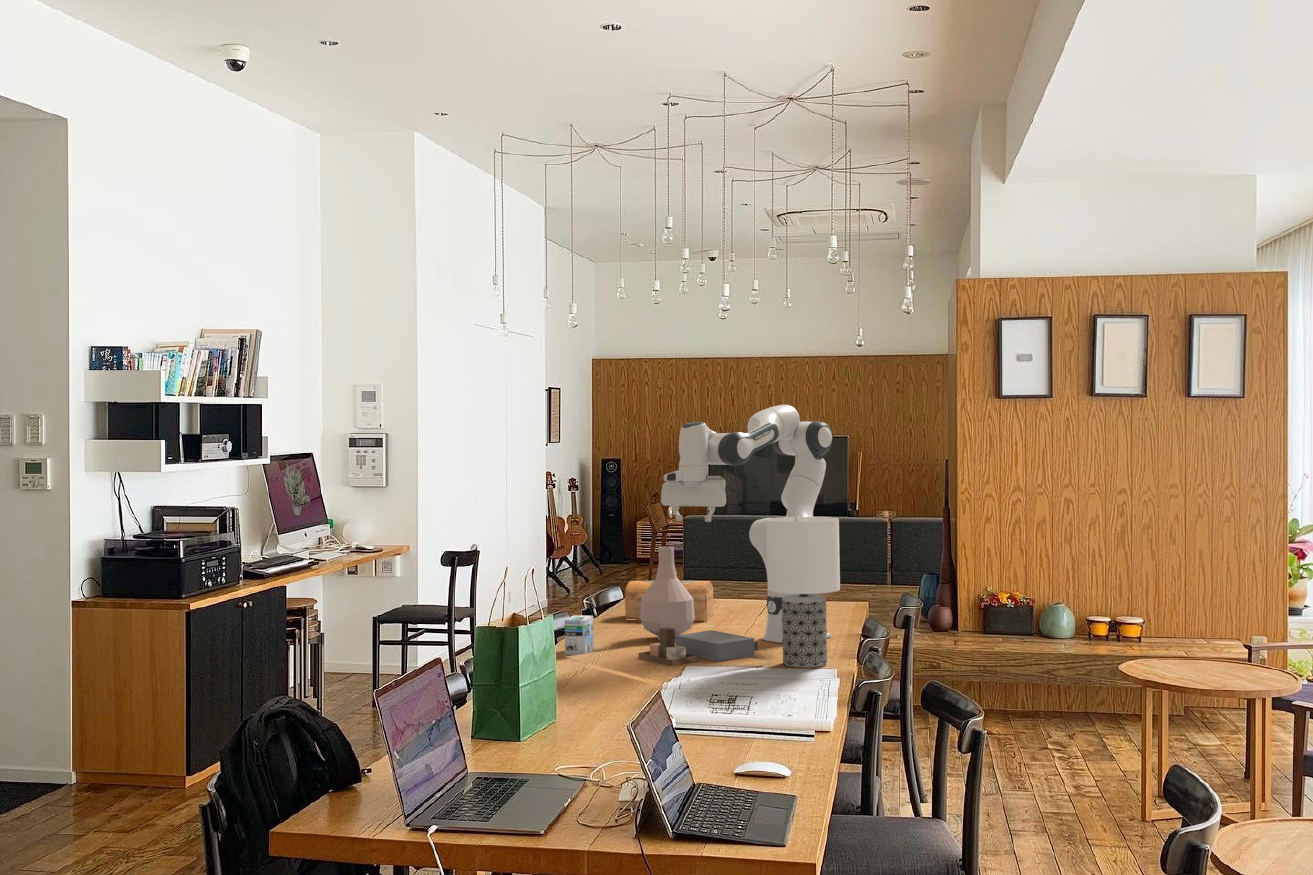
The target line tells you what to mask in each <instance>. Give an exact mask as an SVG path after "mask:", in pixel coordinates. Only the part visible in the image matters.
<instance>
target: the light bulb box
mask: <svg viewBox="0 0 1313 875" xmlns="http://www.w3.org/2000/svg"><path fill="white" fill-rule="evenodd" d="M594 636H595V634H594V616H593V615H582V614H581V615H579V614H578V615H577V614H575V615H574V614H573V615H572V616H569V617H567V618H566V619H564V655H565V656H578V655H586V654H589V653H591V652H593V651H594V650H595V648H594V647H595V643H594V642H595V641H594V639H595V638H594ZM593 649H594V650H593ZM592 650H593V651H592Z"/></svg>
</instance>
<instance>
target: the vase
mask: <svg viewBox="0 0 1313 875" xmlns="http://www.w3.org/2000/svg"><path fill="white" fill-rule="evenodd" d="M674 549H675V547H674V546H659V547H658V564H657V565H658V566H657V571H656V577H655V579H654V580H653V581H654V582H653V583H652V584H651V586H650V587H649V588H648V590H647V591H646V593H645V594H644V595H643V597H642V598H641V615H640V619H641V621H640V622H641V623H642V626H643V628H644V630H645V631H647V632H649V633H651V634H653V635H655V636H657V640H658V641H659V640H660V630H659V629H661V628H668V627H669V628H674V629H675V635H682V634H684V633H685V632H686V631H689V630H690V629H692V627H693V624H694V623H695V622H694V619H695V616H694V600H693V597H692V596H691V595H690V594H689V592H688V591H687V590H686V588H685V587H684V586H683V584H682V583H681V582H680V581H681V580H680V579H679V578H678V576H677V574H678V573H677V570H676V566H675V550H674ZM675 641H676V637H675Z"/></svg>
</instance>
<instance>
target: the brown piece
mask: <svg viewBox="0 0 1313 875" xmlns="http://www.w3.org/2000/svg"><path fill="white" fill-rule="evenodd" d="M659 630H660V641H659V643H660V657H656V656H652V655H650V650H648V651H643V652H637V653H638V658H637V659H641V660H644V661H649V662H653V663H656V664H661V665H666V666H670V667H672V666H678V665H685V664H691V663H696V662H697V663H698V662H699V661H698V660H699V659H698V658H699V657H698V656H696V655H692V654H687V653H686V658H680V659H674V660H669V659H667V654H666V648H667V647H673V646H676V640H675V629H674V628H669V627H668V628H661V629H659Z"/></svg>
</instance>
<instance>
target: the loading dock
mask: <svg viewBox="0 0 1313 875" xmlns="http://www.w3.org/2000/svg"><path fill="white" fill-rule="evenodd" d="M675 637H676V640H675V646H680V647H685V648H686V653H687V654H692V655H696V656H698V658H700V659H705V660H709V661H713V662H717V663H718V662H724V661H729V660H736V659H737V660H738V659H742V658H743V659H744V658H749V659H755V658H756V656H755V655H756V653H755V652H756V651H758V650H759V649H758V647H759V646H758V645H759V644H758V641H755V637H751V636H750V637H749V636H743V635H740V634H733V633H727V632H724V631H717V630H713V629H711V630H710V629H709V630H705V631H703V630H702V631H697V632H690V633H682V634H680V635H675Z"/></svg>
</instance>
